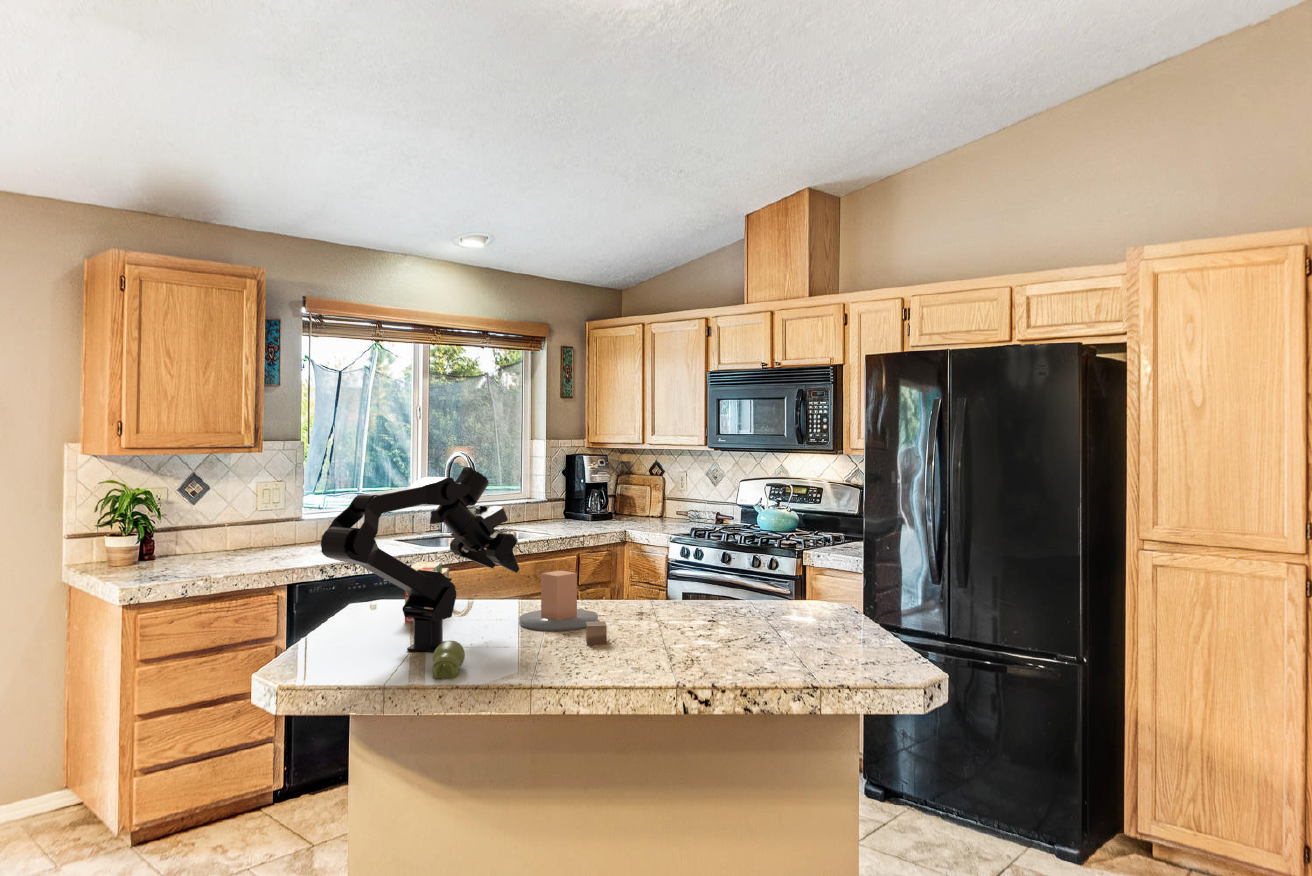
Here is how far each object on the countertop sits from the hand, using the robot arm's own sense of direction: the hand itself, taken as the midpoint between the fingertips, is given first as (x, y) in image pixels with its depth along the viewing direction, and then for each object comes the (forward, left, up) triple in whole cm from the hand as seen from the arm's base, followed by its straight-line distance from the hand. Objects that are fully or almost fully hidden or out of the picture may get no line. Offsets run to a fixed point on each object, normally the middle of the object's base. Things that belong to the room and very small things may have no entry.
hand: (505, 568), depth 185 cm
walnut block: (-9, -22, -14) cm, 27 cm away
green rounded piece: (-34, +1, -14) cm, 36 cm away
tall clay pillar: (+9, -10, -12) cm, 18 cm away
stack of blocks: (+16, +24, -14) cm, 32 cm away
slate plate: (+9, -10, -13) cm, 19 cm away
